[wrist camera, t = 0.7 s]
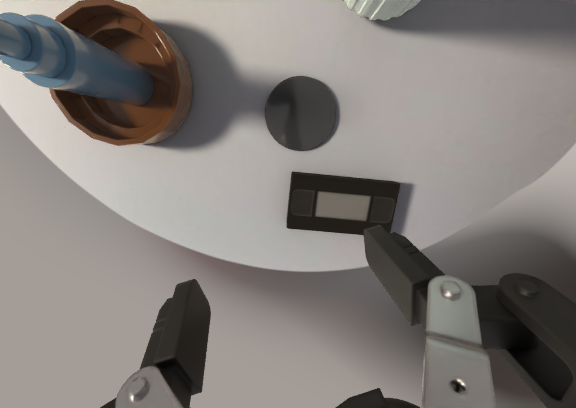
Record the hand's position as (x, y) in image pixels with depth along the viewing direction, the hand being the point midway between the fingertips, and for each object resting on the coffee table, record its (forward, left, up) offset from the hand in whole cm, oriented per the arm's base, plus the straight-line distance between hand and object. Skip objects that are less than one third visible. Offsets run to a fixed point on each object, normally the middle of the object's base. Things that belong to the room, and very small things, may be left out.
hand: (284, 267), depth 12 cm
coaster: (-8, +3, -24) cm, 25 cm away
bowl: (-14, -17, -24) cm, 32 cm away
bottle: (-14, -17, -23) cm, 32 cm away
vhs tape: (+4, +8, -24) cm, 25 cm away
